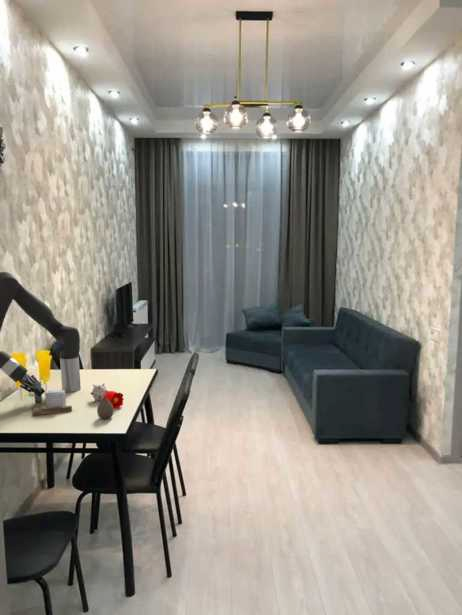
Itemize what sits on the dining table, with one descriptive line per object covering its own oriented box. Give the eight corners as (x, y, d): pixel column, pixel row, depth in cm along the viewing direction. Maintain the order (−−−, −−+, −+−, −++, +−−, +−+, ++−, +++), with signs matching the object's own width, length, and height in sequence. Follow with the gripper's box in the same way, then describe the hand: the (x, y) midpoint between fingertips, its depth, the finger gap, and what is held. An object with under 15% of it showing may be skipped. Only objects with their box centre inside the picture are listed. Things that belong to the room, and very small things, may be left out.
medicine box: (66, 408, 233) (65, 389, 232) (63, 411, 229) (62, 392, 227) (49, 408, 233) (48, 390, 232) (46, 411, 229) (44, 393, 227)
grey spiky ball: (102, 408, 242) (102, 396, 235) (86, 402, 243) (86, 389, 236) (111, 395, 248) (112, 383, 241) (96, 388, 249) (96, 376, 243)
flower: (114, 391, 239) (126, 393, 234) (110, 407, 237) (122, 410, 233) (102, 388, 233) (114, 390, 228) (97, 405, 231) (109, 407, 226)
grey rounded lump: (99, 415, 222) (98, 396, 220) (115, 415, 222) (113, 395, 221) (96, 421, 215) (95, 401, 214) (112, 420, 215) (111, 400, 214)
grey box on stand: (35, 403, 240) (33, 382, 239) (71, 398, 245) (70, 378, 244) (32, 415, 223) (31, 393, 221) (71, 411, 228) (70, 389, 226)
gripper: (13, 368, 229) (42, 393, 231) (24, 360, 243) (52, 384, 245) (2, 379, 229) (32, 404, 232) (14, 371, 243) (42, 395, 246)
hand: (42, 394), depth 238 cm, fingers closed on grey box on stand, 3 cm apart
